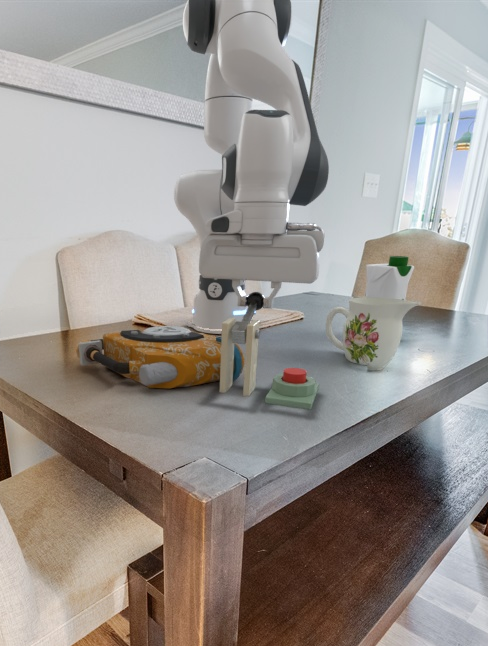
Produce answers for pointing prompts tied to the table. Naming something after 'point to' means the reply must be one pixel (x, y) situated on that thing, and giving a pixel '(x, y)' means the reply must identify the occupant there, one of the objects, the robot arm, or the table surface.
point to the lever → (246, 318)
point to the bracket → (228, 356)
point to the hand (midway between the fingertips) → (254, 307)
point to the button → (294, 375)
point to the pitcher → (370, 329)
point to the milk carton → (389, 278)
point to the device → (160, 356)
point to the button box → (292, 393)
